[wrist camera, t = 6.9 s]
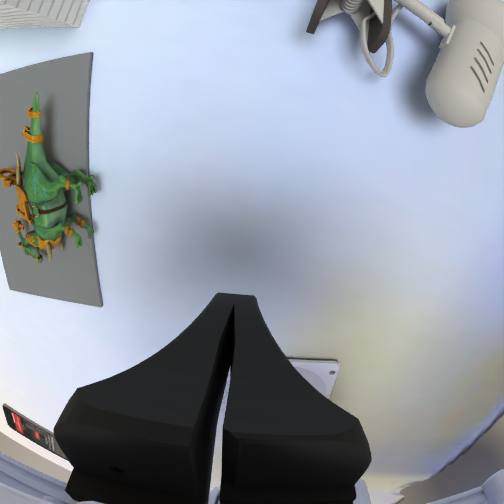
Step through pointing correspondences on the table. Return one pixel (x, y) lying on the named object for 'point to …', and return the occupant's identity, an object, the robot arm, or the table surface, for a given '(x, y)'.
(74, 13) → the stack of papers
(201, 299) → the table surface
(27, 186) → the figurine
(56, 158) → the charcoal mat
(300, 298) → the table surface
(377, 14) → the clip-on lamp
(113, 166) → the table surface
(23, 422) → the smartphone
